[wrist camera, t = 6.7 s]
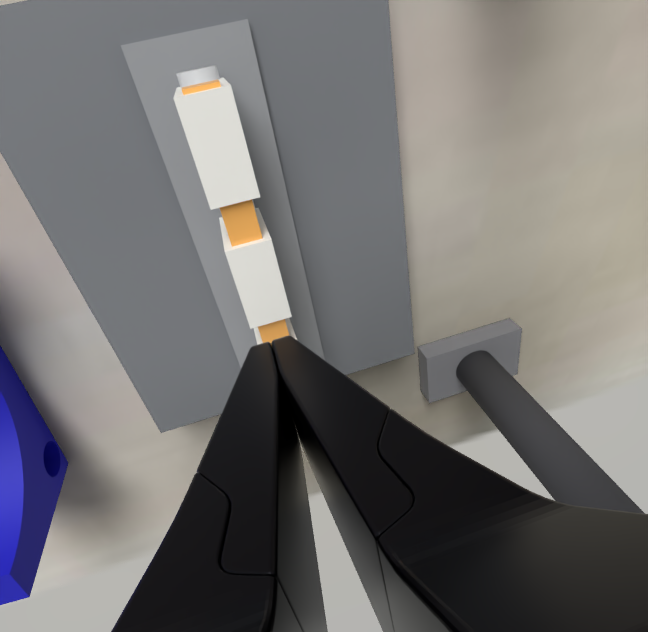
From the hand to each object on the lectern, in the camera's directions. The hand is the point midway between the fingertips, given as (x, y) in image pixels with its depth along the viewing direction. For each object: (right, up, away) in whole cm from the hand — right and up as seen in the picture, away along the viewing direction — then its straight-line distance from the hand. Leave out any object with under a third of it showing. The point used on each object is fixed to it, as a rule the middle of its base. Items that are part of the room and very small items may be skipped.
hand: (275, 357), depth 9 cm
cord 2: (+8, -1, +14) cm, 16 cm away
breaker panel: (-2, +4, +7) cm, 9 cm away
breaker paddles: (-1, +3, +5) cm, 6 cm away
